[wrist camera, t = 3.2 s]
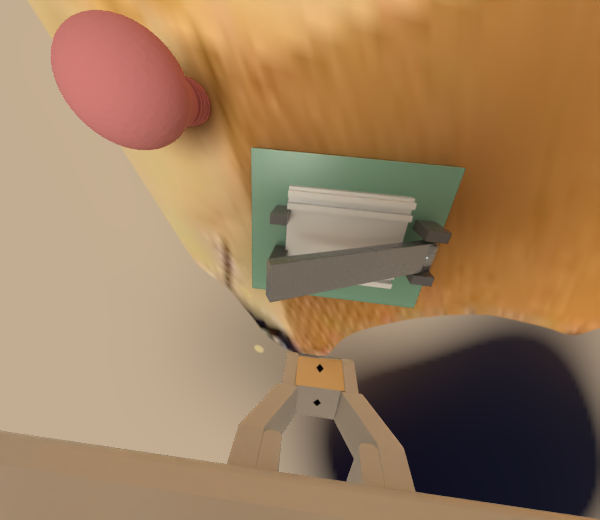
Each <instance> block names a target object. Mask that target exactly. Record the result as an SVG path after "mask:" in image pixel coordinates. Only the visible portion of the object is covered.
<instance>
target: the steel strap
mask: <svg viewBox="0 0 600 520" xmlns="http://www.w3.org/2000/svg"><path fill="white" fill-rule="evenodd" d="M439 246H440V244H439V243H437V242H428V241H425V240H424V239H423V240H418V241H410V242H402V243H393V244H385V245H377V246H369V247H360V248H352V249H344V250H335V251H327V252H319V253H310V254H302V255H294V256H285V257H277V258H269V259H267V269H266V296H267V298H268V299H269V301H270V302H275V301H280V300H285V299H290V298H295V297H300V296H305V295H310V294H315V293H320V292H325V291H330V290H335V289H340V288H345V287H350V286H355V285H360V284H365V283H370V282H375V281H380V280H385V279H390V278H395V277H400V276H405V275H410V274H415V273H420V272H430V270H431V267H432V265H433V262H434V259H435V257H436V254H437V251H438V249H439Z"/></svg>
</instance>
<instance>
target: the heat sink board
mask: <svg viewBox="0 0 600 520" xmlns="http://www.w3.org/2000/svg"><path fill="white" fill-rule="evenodd" d="M465 169H466V168H462V167H455V166H445V165H434V164H424V163H413V162H402V161H392V160H381V159H371V158H360V157H350V156H339V155H328V154H318V153H307V152H297V151H286V150H276V149H265V148H251V170H252V288H257V289H265V290H266V269H267V259H269V258H277V257H285V256H294V255H302V254H310V253H319V252H327V251H335V250H344V249H352V248H360V247H369V246H377V245H385V244H393V243H402V242H410V241H418V240H423V239H424V240H425V241H428V242H437V243H446V244H448V242H449V240H450V237H451V234H452V233H451V232H449V231H448V230H447V229H445V228H444V225H445V223H446V220H447V217H448V215H449V212H450V209H451V207H452V204H453V201H454V198H455V196H456V193H457V190H458V188H459V185H460V182H461V180H462V177H463V174H464V172H465ZM433 280H434V277H433V276H432V274H431V273H430V272H420V273H415V274H410V275H405V276H400V277H395V278H390V279H385V280H380V281H375V282H370V283H365V284H360V285H355V286H350V287H345V288H340V289H335V290H330V291H325V292H320V293H315V294H310V295H313V296H321V297H329V298H337V299H345V300H353V301H361V302H369V303H377V304H385V305H393V306H401V307H410V308H414V306H415V303H416V301H417V298H418V295H419V293H420V290H421V287H422V286H430V287H431V285H432V283H433Z"/></svg>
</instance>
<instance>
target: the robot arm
mask: <svg viewBox="0 0 600 520" xmlns="http://www.w3.org/2000/svg"><path fill="white" fill-rule="evenodd" d="M297 361H298V362H297ZM295 414H299V415H308V416H316V417H322V418H328V419H334V420H335V423H336V425H337V426H338V429H339V430H340V432H341V434H342V436H343V438H344V440H345V442H346V444H347V446H348V448H349V450H350V452H351V454H352V456H353V457H354V461H353V464H352V467H351V470H350V472H349V475H348V478H347V482H344V481H337V480H331V479H324V478H317V477H310V476H303V475H297V474H290V473H283V472H279V461H280V451H281V440H282V434H283V432H284V430H285V429H286V428H287V426H288V425H289V423H290V422H291V420H292V419H293V418H294V416H295ZM0 520H600V519H595V518H587V517H581V516H574V515H567V514H560V513H554V512H546V511H540V510H533V509H526V508H520V507H513V506H506V505H499V504H493V503H486V502H478V501H472V500H465V499H458V498H451V497H445V496H438V495H432V494H425V493H418V492H415V489H414V485H413V481H412V477H411V474H410V470H409V466H408V463H407V459H406V455H405V452H404V449H403V447H402V446H401V444H400V443H399V442H398V440H397V439H396V438H395V436H394V435H393V434H392V432H391V431H390V430H389V429H388V427H387V426H386V425H385V423H384V422H383V421H382V419H381V418H380V417H379V416H378V414H377V413H376V412H375V411H374V410H373V408H372V407H371V406H370V404H369V403H368V401H367V400H366V399H365V398H364V396H363V395H362V394H358V387H357V380H356V374H355V367H354V362H353V360H349V359H341V358H333V357H324V356H315V355H308V354H302V353H299V354H298V353H294V352H287V355H286V361H285V367H284V372H283V378H282V383H278V384H277V385H276V386H275V387H274V388H273V389H272V390H271V391H270V392H269V393H268V394H267V396H266V397H265V398H264V399H263V400H262V401H261V402H260V403H259V404H258V405H257V406H256V407H255V408H254V409H253V410H252V411H251V412H250V413H249V414H248V416H246V418H245V419H244V420H243V421H242V422H241V423H240V424H239V426H238V430H237V433H236V436H235V439H234V442H233V446H232V449H231V452H230V456H229V459H228V462H227V464H221V463H215V462H209V461H202V460H195V459H187V458H181V457H174V456H168V455H161V454H154V453H148V452H141V451H133V450H127V449H120V448H114V447H107V446H99V445H93V444H86V443H80V442H73V441H66V440H59V439H53V438H46V437H39V436H33V435H26V434H19V433H12V432H6V431H0Z"/></svg>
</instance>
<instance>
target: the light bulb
mask: <svg viewBox="0 0 600 520" xmlns="http://www.w3.org/2000/svg"><path fill="white" fill-rule="evenodd" d="M51 64H52V70H53V73H54V77H55V80H56V83H57V85H58V87H59V90H60V92H61V93H62V95H63V97H64V99H65V100H66V102H67V103H68V105H69V106H70V108H71V109H72V110H73V111H74V112H75V114H76V115H77V116H78V117H79V118H80V119H81V120H82V121H83V122H84V123H85V124H86V125H87V126H88V127H90V128H91V129H92V130H94V131H95V132H96V133H98V134H99V135H101V136H102V137H104V138H106V139H108V140H109V141H112V142H114V143H116V144H118V145H121V146H124V147H127V148H131V149H137V150H153V149H159V148H162V147H165V146H167V145H169V144H171V143H172V142H174V141H175V140H176V139H178V138H179V136H180V135H181V134H182V133H183V131H184V130H185V128H187V127H189V126H195V125H197V126H198V125H201V124H203V123H205V121H206V120H207V119H208V116H209V113H210V103H209V99H208V97H207V94H206V92H205V90H204V89H203V88H202V87H201V86H200V85H199V84H198V83H197V82H196V81H194V80H193V79H191V78H188V77H187V76H184V73H183V71H182V69H181V67H180V65H179V64H178V62H177V60H176V59H175V57H174V56H173V54H172V53H171V52H170V50H169V49H168V48H167V47H166V46H165V45H164V44H163V42H162V41H161V40H160V39H159V38H158V37H157V36H155V35H154V34H153V33H152V32H151V31H149V30H148V29H147V28H145V27H144V26H142V25H141V24H139V23H137V22H136V21H134V20H132V19H130V18H128V17H125V16H123V15H120V14H117V13H114V12H110V11H102V10H90V11H84V12H80V13H77V14H75V15H73V16H71V17H69V18H68V19H67V20H65V21H64V22H63V23H62V24H61V25H60V27H59V28H58V30H57V31H56V33H55V35H54V38H53V42H52V47H51Z"/></svg>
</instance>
